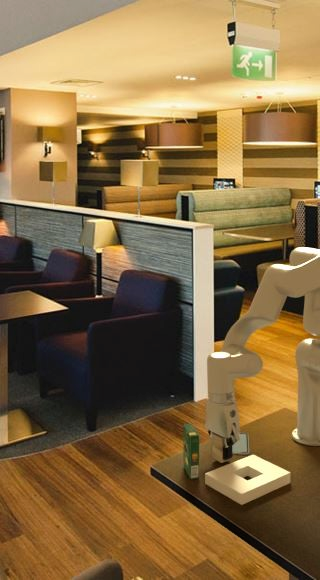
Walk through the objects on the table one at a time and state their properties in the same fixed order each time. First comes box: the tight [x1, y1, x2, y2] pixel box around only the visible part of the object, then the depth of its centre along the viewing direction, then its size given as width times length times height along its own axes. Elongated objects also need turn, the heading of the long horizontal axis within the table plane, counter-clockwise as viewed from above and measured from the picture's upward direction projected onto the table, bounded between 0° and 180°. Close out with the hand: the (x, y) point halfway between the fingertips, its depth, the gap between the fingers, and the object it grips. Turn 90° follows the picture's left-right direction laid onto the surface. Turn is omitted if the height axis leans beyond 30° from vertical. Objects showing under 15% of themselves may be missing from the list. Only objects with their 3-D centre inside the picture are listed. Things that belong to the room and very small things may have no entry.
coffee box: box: [182, 423, 200, 480], centre depth 173 cm, size 8×3×13 cm, turn 11°
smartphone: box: [232, 432, 250, 456], centre depth 193 cm, size 7×1×15 cm
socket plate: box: [204, 454, 291, 506], centre depth 168 cm, size 18×14×3 cm
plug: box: [211, 432, 233, 464], centre depth 180 cm, size 4×4×8 cm
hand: (222, 455), depth 181 cm, fingers closed on plug, 4 cm apart
